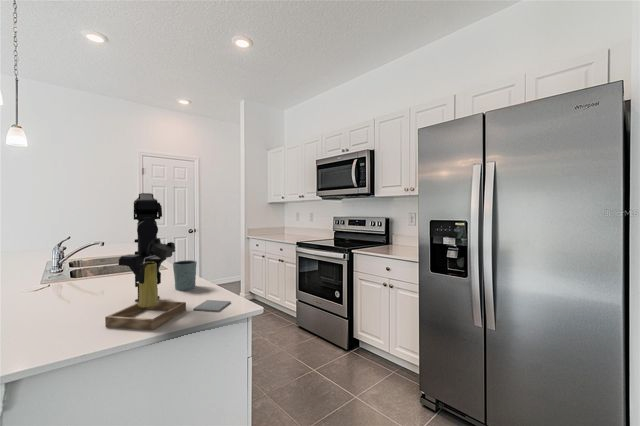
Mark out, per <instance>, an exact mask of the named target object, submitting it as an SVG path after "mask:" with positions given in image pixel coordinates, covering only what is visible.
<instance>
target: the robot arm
mask: <svg viewBox="0 0 640 426" xmlns="http://www.w3.org/2000/svg"><path fill="white" fill-rule="evenodd" d="M161 218H163V207H162V205H161V203H160V202H158V199H156V198H154V193H152V192H151V193H149V192H147V193H145V192H142V193H141V192H140V193H138V197H137V198H136V199H135V200H134V202H133V220H137V223H136V225H137V227H136V232H137V238H135V239H134V243H137V251H134V254H126V255H121V256H119V258H118V266H122V267H123V266H124V267H129V269H130V270H131V271H132V273H133V274H134V287H135V288H137V298H136V299H135V300H134V302H136V303H138V302H139V283H140V284H143V283H144V274H145V267H146V266H147V265H148V263H145V262H156V263H157V285H160V284H161V283H162V280H161V279H162V273H161V271H160V267H161V264H162V263H163V262H165V261H166V260H167V259H168V258H171V257H172V256H173V253H175V252H176V246H175V245H176V244H175V243H174V242H173V241H169V242H167V243H162V242H161V238H159V237H158V232H159V227H158V225H157V223H158V222H157V221H156V220H160V219H161ZM158 290H159V289H158V287H157V292H158ZM158 293H159V292H158ZM159 298H160V295H158V299H159Z"/></svg>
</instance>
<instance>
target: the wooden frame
mask: <svg viewBox="0 0 640 426" xmlns="http://www.w3.org/2000/svg"><path fill="white" fill-rule="evenodd" d="M158 301H159V302H158V304H157V305H154V306H151V307H139V306H138V303H139V302H136V303H134V304H131V305H130V306H127V307H125V308H123V309H121V310H118V311H115V312H113V313H111V314H108V315H107V316H105V320H104V321H105V323H104V324H105V327H108V328H109V327H110V328H111V327H112V328H122V329H123V328H125V329H137V330H138V329H139V330H152V331H154V330H156V329H157V328H159V327H161V326H162V325H164V324H166V323H167V322H169V321H171V320H172V319H174V318H176V317H178V316H180V315H181V314H182V313H184V312H186V311H187V302H185V301H170V300H167V301H166V300H158ZM143 310H157V311H158V310H160V311H164V312H163V313H161V314H159V315H157V316H155V317H154V318H143V317H130V316H133V315H135V314H137V313H138V312H141V311H143Z"/></svg>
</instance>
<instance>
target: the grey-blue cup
mask: <svg viewBox="0 0 640 426" xmlns="http://www.w3.org/2000/svg"><path fill="white" fill-rule="evenodd" d="M172 268H173V277H174V288H175V290H176V291H190V290H193V289H195V288H196V275H197V260H191V259H190V260H177V261H175V262H172Z"/></svg>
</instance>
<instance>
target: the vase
mask: <svg viewBox="0 0 640 426" xmlns="http://www.w3.org/2000/svg"><path fill="white" fill-rule="evenodd" d="M145 263H148V265H147V266H146V267H145V274H144V283H143V284H140V283H139V282H138V283H139V303H138V302H137V303H138V306H139V307H151V306H154V305H157V304H158V302H159V301H160V300H159V298H158V296H159V292H157V288H158V284H157V263H156V262H145Z"/></svg>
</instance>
